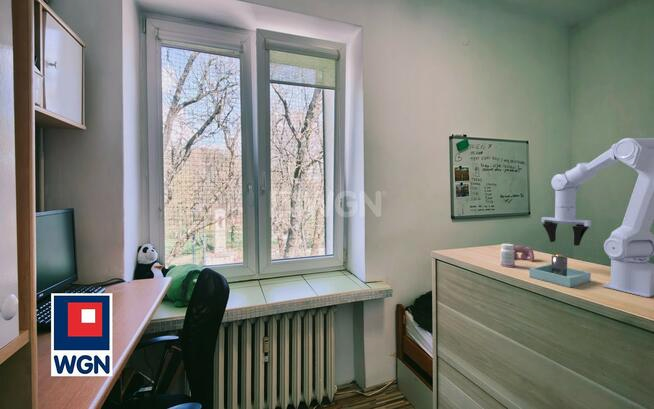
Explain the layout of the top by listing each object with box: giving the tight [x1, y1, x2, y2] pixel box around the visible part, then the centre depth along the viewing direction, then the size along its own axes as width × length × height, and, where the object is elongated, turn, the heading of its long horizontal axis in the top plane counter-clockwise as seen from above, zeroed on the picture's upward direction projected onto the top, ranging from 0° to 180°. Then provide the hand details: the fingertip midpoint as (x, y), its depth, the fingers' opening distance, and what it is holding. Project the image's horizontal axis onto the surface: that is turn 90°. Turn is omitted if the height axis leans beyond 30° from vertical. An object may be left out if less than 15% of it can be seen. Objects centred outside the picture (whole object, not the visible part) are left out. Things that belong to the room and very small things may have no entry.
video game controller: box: [513, 244, 535, 263], centre depth 118 cm, size 10×5×7 cm, turn 59°
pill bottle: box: [499, 243, 516, 268], centre depth 109 cm, size 5×5×8 cm
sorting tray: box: [529, 263, 592, 289], centre depth 93 cm, size 12×12×3 cm
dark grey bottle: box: [551, 253, 568, 277], centre depth 93 cm, size 4×4×8 cm
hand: (564, 243), depth 104 cm, fingers open, 7 cm apart
